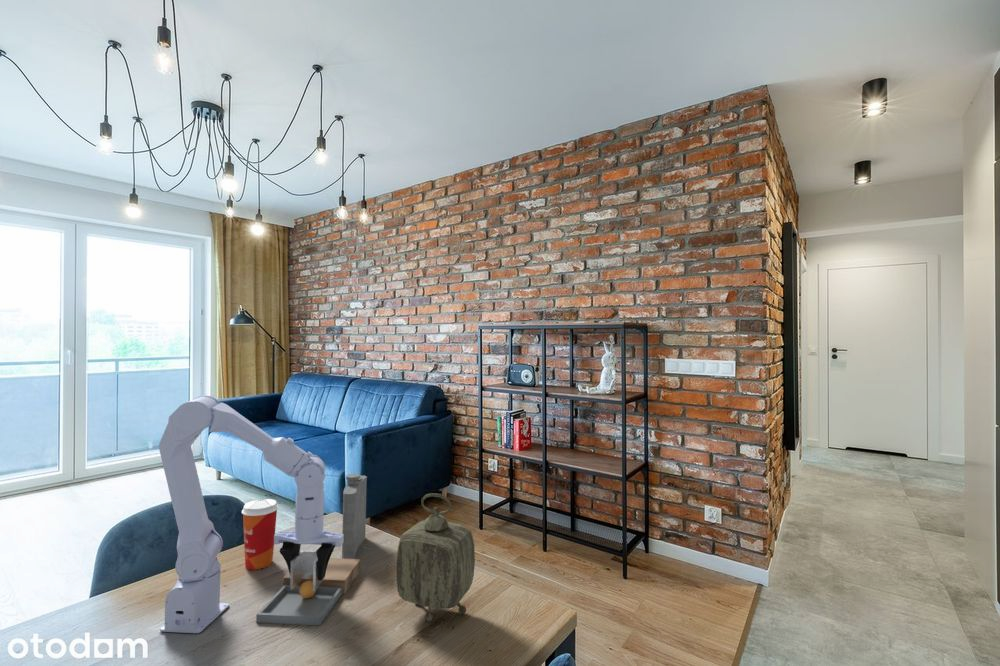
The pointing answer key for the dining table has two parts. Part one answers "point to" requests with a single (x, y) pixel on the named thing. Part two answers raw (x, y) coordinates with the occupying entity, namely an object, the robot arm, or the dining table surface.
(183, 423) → the robot arm
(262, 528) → the coffee cup
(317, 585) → the grey arch
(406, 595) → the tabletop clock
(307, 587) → the ball
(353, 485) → the hip flask
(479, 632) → the dining table surface
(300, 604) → the tray
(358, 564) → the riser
